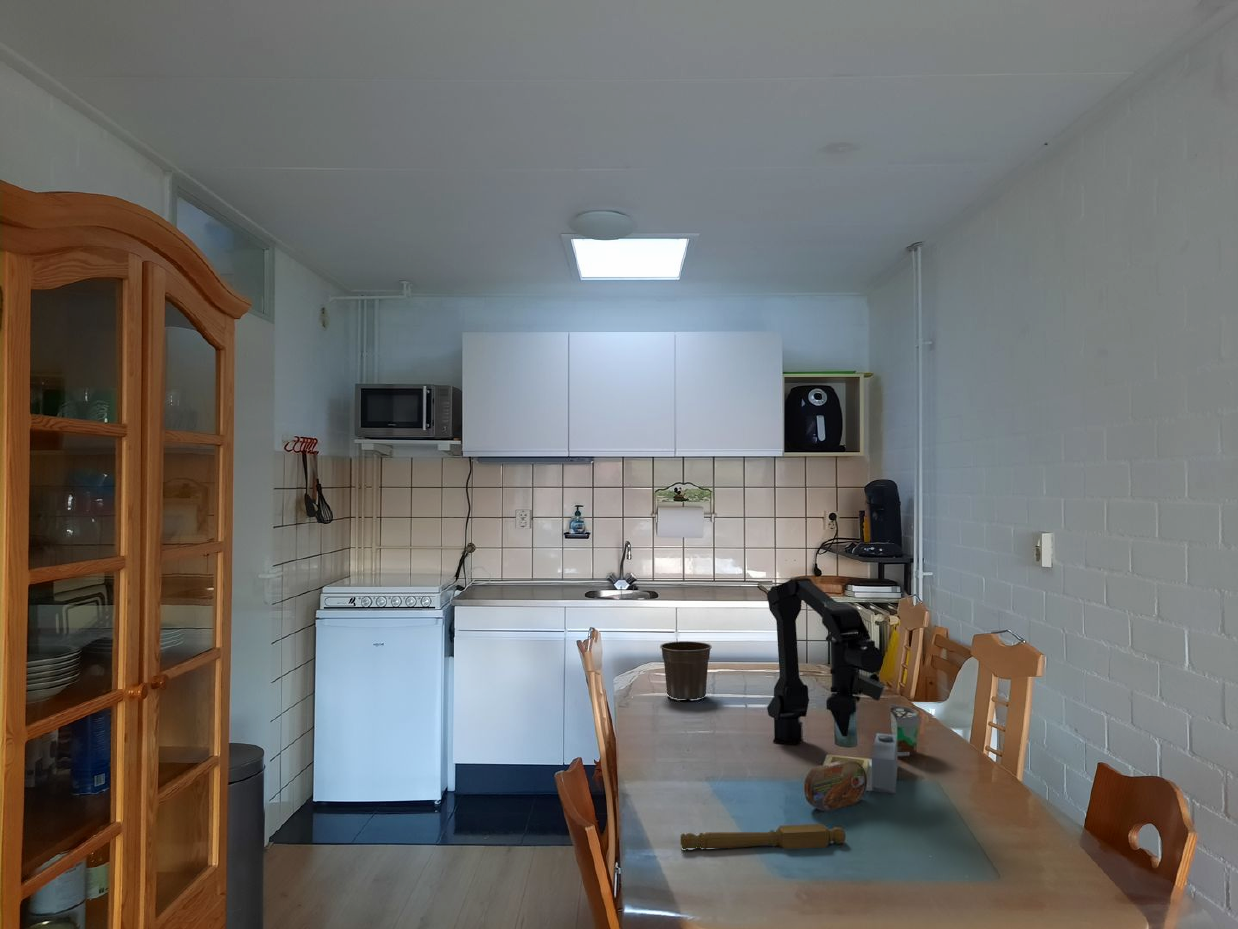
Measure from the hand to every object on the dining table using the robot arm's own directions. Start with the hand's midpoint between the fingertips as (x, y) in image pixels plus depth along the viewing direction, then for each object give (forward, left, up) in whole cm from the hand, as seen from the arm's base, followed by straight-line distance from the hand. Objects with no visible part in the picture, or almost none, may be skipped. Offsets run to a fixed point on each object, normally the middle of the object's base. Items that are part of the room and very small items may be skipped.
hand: (845, 732), depth 175 cm
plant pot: (-53, +52, -9) cm, 75 cm away
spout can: (0, 0, -3) cm, 2 cm away
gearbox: (+3, 0, -9) cm, 9 cm away
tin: (0, -19, -9) cm, 21 cm away
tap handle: (-11, -42, -10) cm, 45 cm away
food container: (+13, +19, -9) cm, 25 cm away
